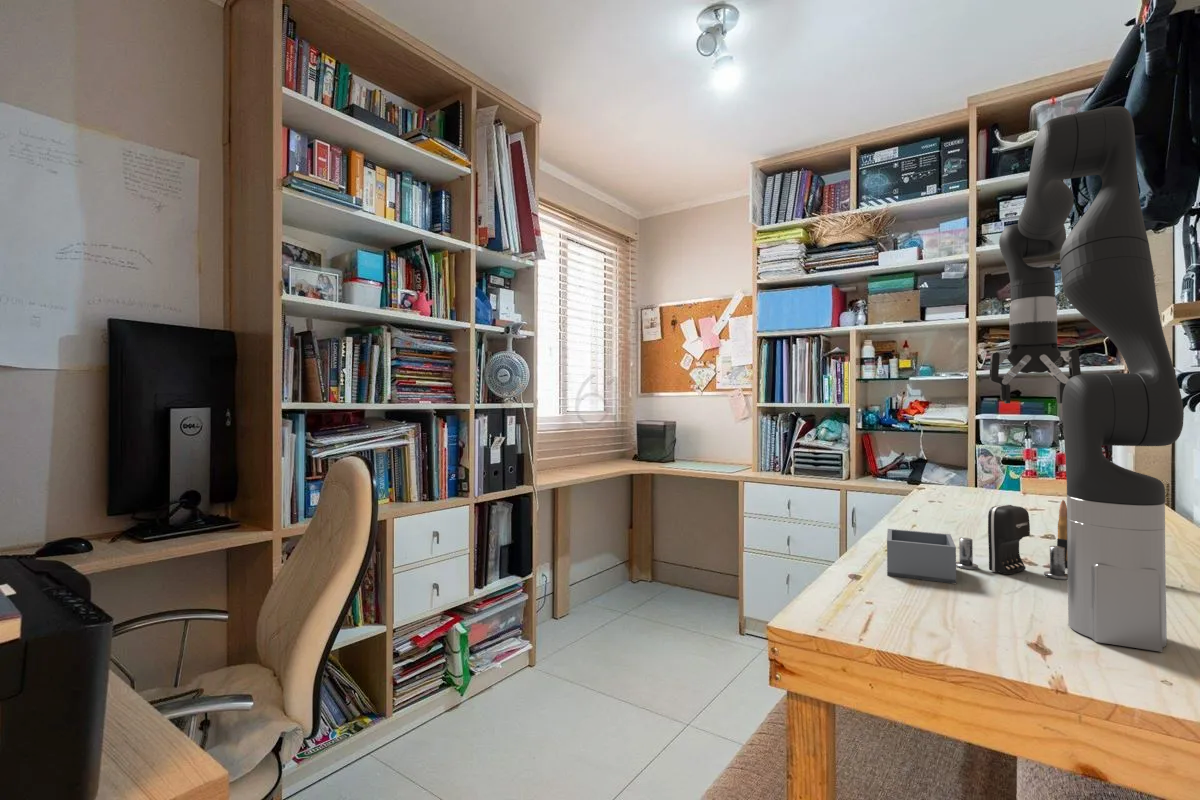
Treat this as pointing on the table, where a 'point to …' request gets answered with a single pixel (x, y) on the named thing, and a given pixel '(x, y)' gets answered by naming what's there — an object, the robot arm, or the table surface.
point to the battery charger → (1006, 537)
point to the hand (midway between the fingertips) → (1033, 403)
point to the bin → (921, 555)
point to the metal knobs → (1055, 572)
